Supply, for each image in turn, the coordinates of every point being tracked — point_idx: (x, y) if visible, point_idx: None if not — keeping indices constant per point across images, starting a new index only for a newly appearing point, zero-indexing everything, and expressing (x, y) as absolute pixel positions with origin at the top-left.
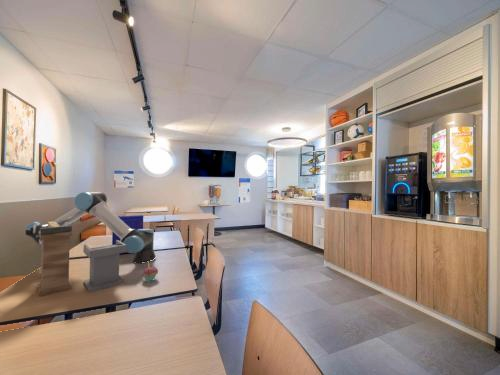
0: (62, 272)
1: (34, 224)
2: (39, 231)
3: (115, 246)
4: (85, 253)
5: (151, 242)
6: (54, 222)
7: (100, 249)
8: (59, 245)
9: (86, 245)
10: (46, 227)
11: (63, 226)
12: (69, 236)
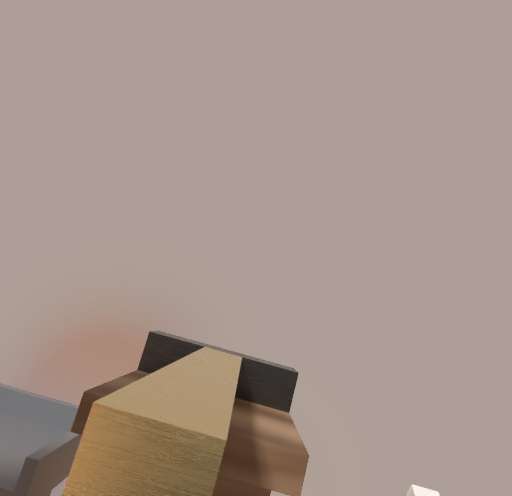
0: None
1: (424, 490)
2: (300, 444)
3: (11, 388)
4: (55, 482)
5: None
6: (175, 376)
7: (71, 405)
8: None
9: (41, 448)
10: (270, 364)
11: (193, 341)
12: None
